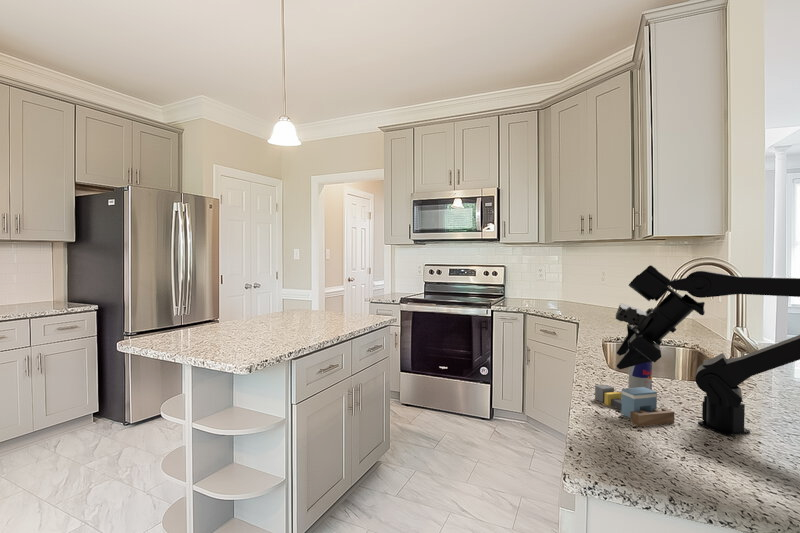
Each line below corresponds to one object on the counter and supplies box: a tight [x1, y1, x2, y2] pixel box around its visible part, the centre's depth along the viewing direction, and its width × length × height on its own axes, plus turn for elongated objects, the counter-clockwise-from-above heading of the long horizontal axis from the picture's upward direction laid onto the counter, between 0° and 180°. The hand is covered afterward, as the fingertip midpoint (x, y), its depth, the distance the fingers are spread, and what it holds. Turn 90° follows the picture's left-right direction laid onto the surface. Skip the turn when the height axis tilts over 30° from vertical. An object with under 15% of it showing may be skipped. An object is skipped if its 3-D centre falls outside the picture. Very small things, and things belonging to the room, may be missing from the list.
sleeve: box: [620, 387, 658, 419], centre depth 93 cm, size 4×6×6 cm, turn 104°
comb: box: [629, 407, 675, 427], centre depth 90 cm, size 2×9×2 cm, turn 104°
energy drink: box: [627, 362, 653, 390], centre depth 108 cm, size 5×5×12 cm
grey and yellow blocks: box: [594, 384, 649, 413], centre depth 97 cm, size 16×4×4 cm, turn 14°
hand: (618, 360), depth 99 cm, fingers open, 9 cm apart
